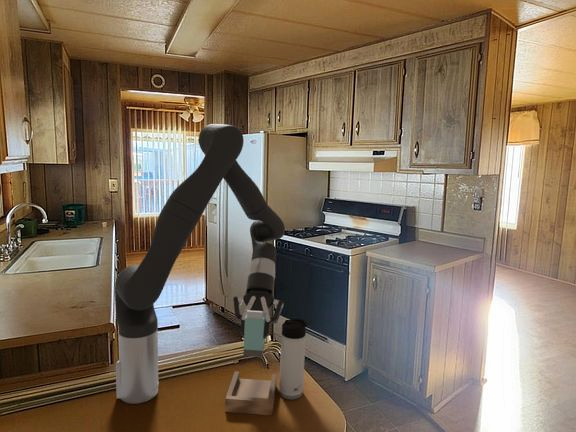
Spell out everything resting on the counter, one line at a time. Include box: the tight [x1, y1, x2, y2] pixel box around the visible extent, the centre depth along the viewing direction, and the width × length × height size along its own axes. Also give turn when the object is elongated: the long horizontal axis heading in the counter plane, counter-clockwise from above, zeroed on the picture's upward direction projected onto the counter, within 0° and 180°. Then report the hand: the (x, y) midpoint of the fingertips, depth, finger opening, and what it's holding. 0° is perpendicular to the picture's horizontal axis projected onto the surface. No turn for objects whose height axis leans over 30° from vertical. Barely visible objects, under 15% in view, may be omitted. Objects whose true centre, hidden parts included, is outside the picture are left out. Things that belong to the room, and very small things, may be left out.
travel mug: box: [278, 318, 309, 400], centre depth 104 cm, size 6×7×20 cm
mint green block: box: [243, 310, 266, 357], centre depth 104 cm, size 5×6×12 cm
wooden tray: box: [224, 370, 278, 416], centre depth 102 cm, size 11×12×4 cm
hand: (254, 336), depth 102 cm, fingers closed on mint green block, 4 cm apart
